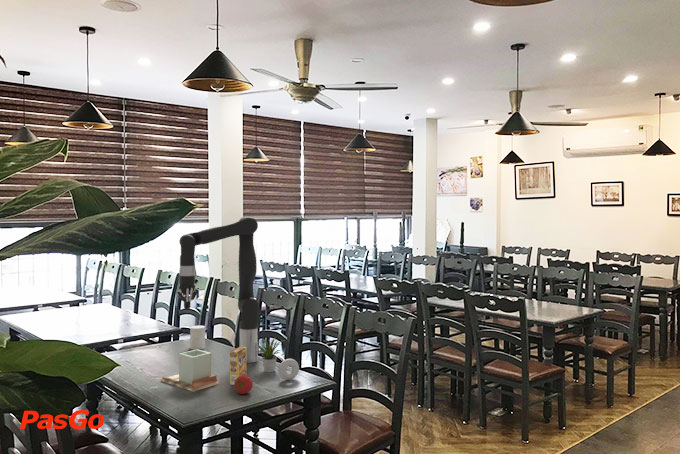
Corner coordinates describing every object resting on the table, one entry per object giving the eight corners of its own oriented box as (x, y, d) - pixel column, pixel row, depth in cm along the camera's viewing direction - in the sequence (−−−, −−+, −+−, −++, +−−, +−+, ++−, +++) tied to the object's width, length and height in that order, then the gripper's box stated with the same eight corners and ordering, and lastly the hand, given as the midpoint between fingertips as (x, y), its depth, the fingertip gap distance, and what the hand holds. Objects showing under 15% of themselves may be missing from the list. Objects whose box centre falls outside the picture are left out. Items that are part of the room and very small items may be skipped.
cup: (187, 348, 308) (187, 327, 308) (196, 345, 316) (196, 325, 315) (199, 350, 305) (199, 328, 305) (207, 346, 312) (207, 326, 312)
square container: (178, 381, 244) (178, 353, 244) (197, 376, 252) (197, 349, 252) (192, 386, 238) (192, 357, 238) (211, 380, 246) (211, 352, 245)
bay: (160, 380, 249) (160, 372, 249) (186, 373, 260) (186, 365, 260) (193, 391, 234) (193, 382, 234) (218, 383, 245) (218, 375, 245)
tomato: (248, 370, 237) (238, 371, 230) (259, 384, 233) (248, 385, 227) (237, 383, 238) (226, 385, 231) (247, 397, 235) (237, 399, 228)
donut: (279, 382, 248) (279, 360, 248) (277, 380, 251) (277, 358, 251) (300, 379, 253) (300, 358, 252) (297, 377, 256) (297, 356, 255)
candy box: (237, 385, 243) (237, 351, 243) (229, 384, 244) (229, 350, 244) (247, 379, 252) (247, 347, 251) (238, 379, 253) (238, 346, 253)
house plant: (282, 365, 277) (282, 333, 276) (288, 372, 263) (289, 339, 263) (254, 367, 272) (254, 334, 272) (259, 375, 259) (259, 341, 259)
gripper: (180, 276, 264) (180, 311, 264) (202, 274, 274) (202, 308, 275) (171, 275, 268) (171, 310, 269) (193, 272, 279) (193, 306, 279)
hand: (187, 309), depth 272 cm, fingers closed
